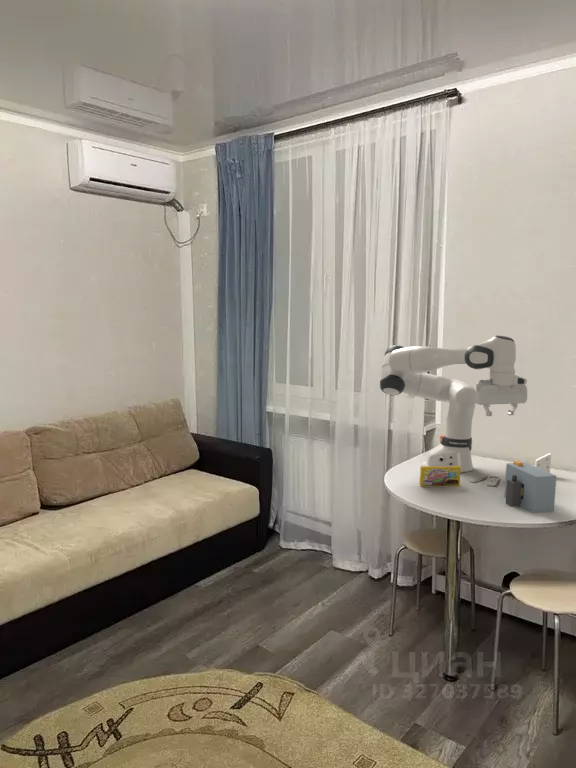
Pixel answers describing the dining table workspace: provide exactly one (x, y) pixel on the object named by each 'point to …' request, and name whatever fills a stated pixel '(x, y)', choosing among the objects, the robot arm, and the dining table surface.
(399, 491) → the dining table surface
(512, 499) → the plug
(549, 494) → the socket
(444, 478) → the candy box
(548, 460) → the white wedge bracket
